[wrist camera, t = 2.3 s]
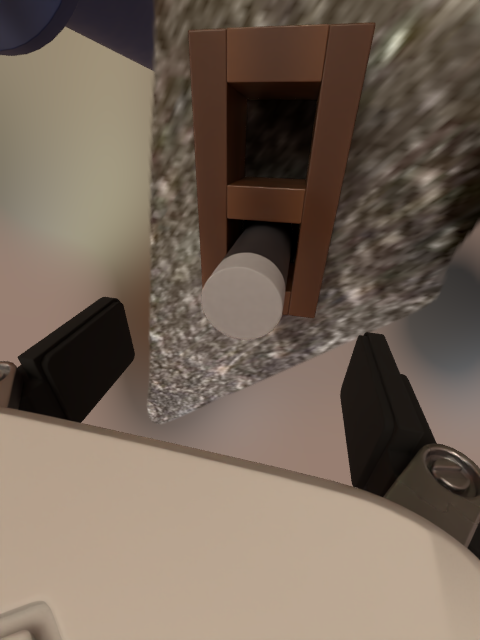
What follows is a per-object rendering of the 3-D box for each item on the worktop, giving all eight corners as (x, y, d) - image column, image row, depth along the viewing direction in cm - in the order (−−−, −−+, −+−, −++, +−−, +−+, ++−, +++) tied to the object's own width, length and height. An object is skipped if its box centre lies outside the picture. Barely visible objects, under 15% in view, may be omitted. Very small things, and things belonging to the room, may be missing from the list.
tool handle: (246, 254, 25) (202, 334, 14) (248, 208, 23) (198, 262, 12) (290, 258, 24) (278, 345, 14) (296, 211, 22) (287, 271, 11)
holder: (222, 275, 27) (203, 304, 22) (219, 61, 18) (187, 29, 13) (312, 285, 25) (314, 318, 20) (355, 58, 17) (376, 21, 12)
